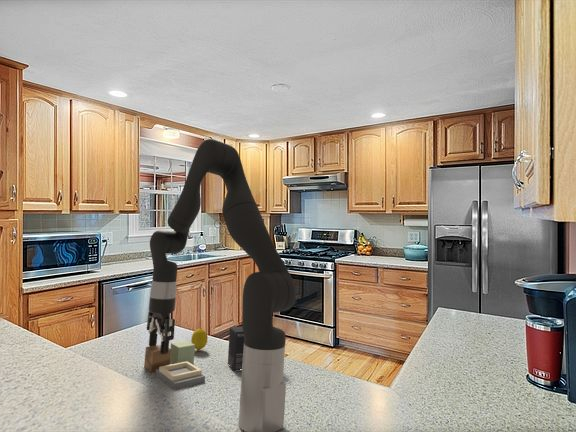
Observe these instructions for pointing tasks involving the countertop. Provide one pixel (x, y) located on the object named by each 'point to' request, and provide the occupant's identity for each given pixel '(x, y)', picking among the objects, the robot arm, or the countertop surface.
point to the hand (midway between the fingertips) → (158, 349)
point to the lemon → (199, 338)
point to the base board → (180, 374)
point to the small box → (236, 348)
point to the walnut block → (156, 358)
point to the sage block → (182, 352)
